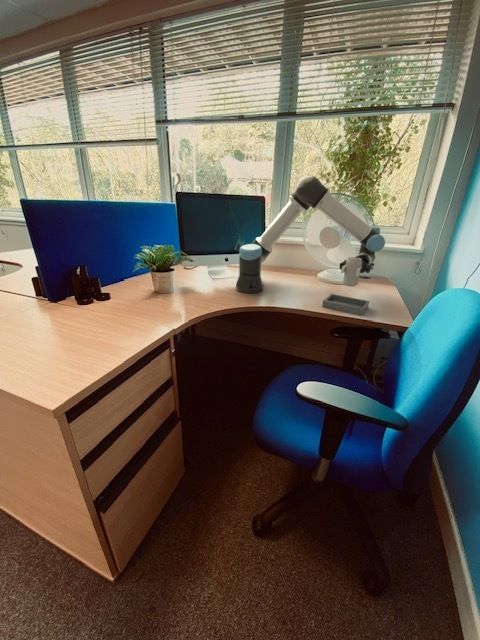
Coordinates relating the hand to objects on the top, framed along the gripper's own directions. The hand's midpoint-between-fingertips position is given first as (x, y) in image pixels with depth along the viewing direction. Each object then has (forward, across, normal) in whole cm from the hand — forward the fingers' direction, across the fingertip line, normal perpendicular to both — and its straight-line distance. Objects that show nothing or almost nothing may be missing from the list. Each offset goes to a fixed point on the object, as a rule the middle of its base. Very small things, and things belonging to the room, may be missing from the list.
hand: (349, 271), depth 112 cm
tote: (-5, 0, -18) cm, 19 cm away
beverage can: (-5, 0, -7) cm, 9 cm away
